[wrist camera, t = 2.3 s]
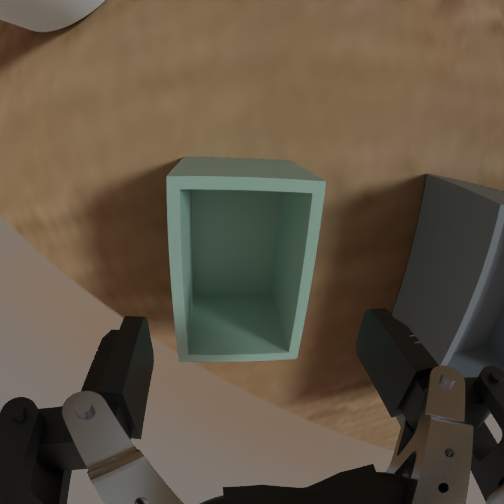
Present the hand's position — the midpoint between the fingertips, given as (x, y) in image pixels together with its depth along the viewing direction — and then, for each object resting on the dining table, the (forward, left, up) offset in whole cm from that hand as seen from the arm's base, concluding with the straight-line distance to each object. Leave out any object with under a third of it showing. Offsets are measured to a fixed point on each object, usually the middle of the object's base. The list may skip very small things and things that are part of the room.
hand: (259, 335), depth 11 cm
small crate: (-1, 0, -9) cm, 9 cm away
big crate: (+3, +21, -9) cm, 23 cm away
